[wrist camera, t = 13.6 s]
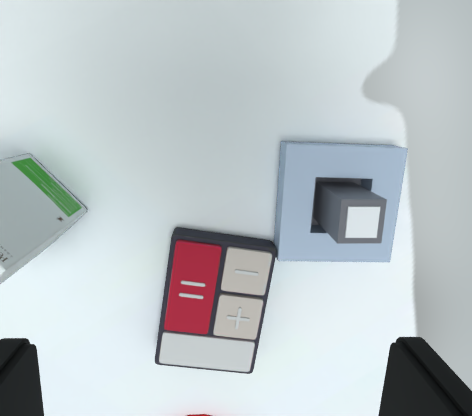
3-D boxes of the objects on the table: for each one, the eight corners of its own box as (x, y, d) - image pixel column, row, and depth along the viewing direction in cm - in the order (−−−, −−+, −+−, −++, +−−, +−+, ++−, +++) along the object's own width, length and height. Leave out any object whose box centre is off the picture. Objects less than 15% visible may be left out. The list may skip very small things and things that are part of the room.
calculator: (278, 250, 38) (253, 379, 41) (271, 238, 42) (249, 356, 45) (171, 235, 37) (152, 369, 40) (175, 224, 41) (158, 346, 44)
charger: (316, 181, 40) (342, 199, 32) (352, 181, 40) (388, 200, 32) (313, 217, 41) (338, 244, 33) (349, 217, 41) (382, 244, 33)
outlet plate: (281, 141, 39) (286, 144, 36) (393, 145, 39) (407, 148, 37) (273, 250, 42) (278, 260, 39) (377, 251, 42) (389, 262, 40)
